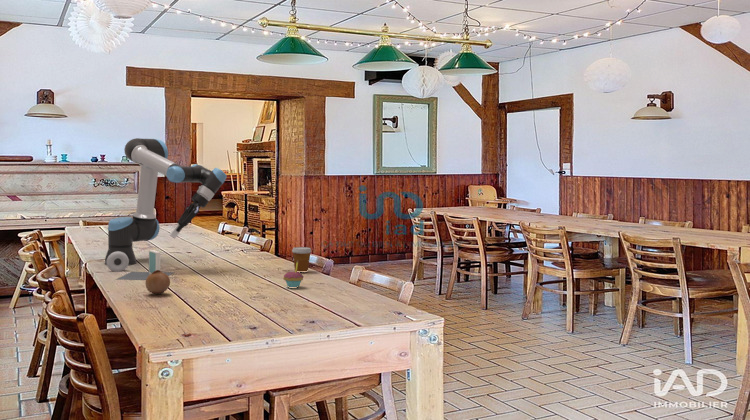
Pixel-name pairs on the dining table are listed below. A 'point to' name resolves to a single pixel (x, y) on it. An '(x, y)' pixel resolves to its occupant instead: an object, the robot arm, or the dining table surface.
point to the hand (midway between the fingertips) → (171, 236)
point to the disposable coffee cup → (301, 258)
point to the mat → (138, 276)
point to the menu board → (154, 261)
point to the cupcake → (293, 278)
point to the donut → (114, 256)
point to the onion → (157, 282)
